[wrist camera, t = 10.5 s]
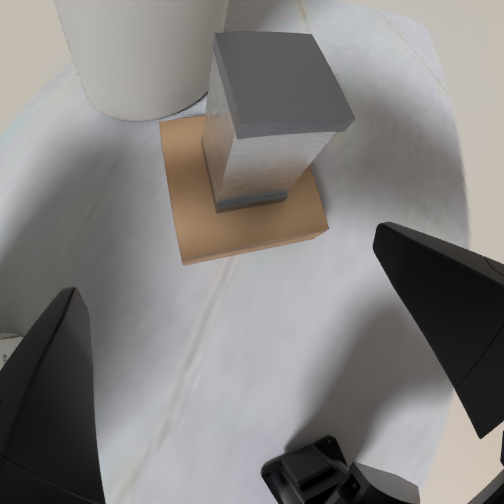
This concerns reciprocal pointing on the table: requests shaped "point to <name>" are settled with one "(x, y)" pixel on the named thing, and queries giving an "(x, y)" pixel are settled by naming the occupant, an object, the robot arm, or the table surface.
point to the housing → (267, 115)
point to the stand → (232, 222)
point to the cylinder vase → (142, 52)
